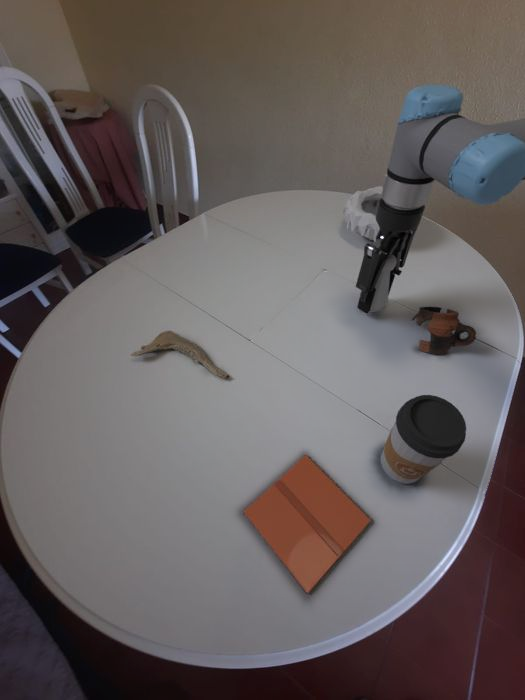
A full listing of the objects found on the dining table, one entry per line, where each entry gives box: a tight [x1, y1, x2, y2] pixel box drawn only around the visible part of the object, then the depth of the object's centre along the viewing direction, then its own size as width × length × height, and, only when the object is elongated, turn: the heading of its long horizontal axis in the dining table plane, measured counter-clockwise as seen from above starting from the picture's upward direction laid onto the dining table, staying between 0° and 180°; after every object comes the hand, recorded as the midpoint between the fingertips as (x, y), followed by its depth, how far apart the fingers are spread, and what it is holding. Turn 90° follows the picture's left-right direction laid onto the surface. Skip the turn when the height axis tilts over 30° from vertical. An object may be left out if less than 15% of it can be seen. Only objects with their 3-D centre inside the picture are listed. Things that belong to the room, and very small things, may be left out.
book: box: [243, 454, 372, 594], centre depth 49 cm, size 13×13×1 cm
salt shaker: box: [369, 252, 397, 314], centre depth 71 cm, size 6×6×13 cm
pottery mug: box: [411, 306, 477, 355], centre depth 69 cm, size 12×10×8 cm
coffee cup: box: [380, 394, 467, 485], centre depth 48 cm, size 8×8×15 cm
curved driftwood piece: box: [130, 330, 230, 380], centre depth 69 cm, size 9×20×2 cm, turn 75°
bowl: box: [342, 185, 383, 243], centre depth 93 cm, size 21×20×10 cm
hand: (372, 303), depth 75 cm, fingers closed on salt shaker, 6 cm apart
